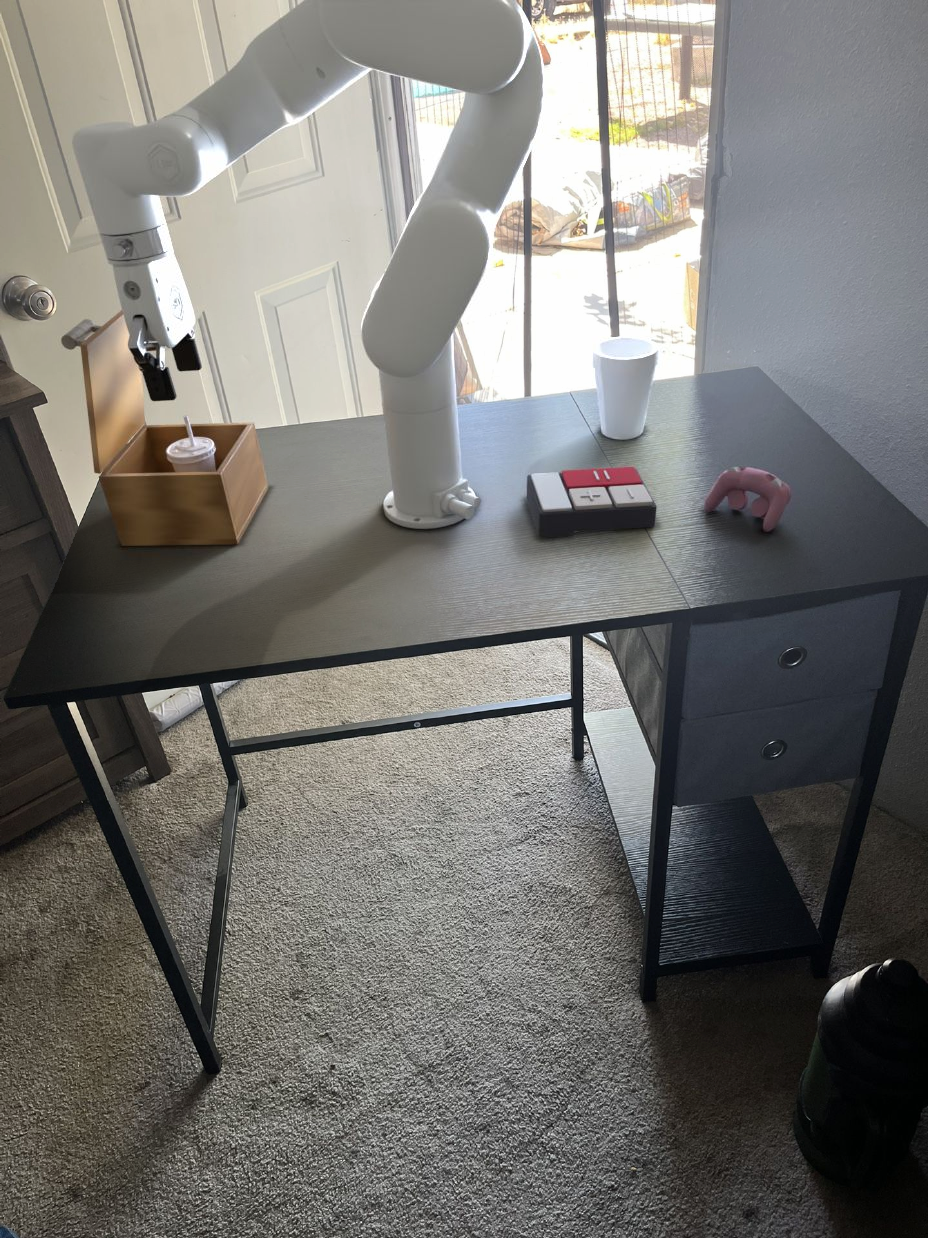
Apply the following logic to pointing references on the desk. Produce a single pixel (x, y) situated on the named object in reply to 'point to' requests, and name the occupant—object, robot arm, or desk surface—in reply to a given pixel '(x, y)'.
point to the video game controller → (755, 481)
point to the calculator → (589, 501)
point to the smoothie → (192, 453)
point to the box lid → (109, 386)
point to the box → (185, 487)
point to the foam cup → (624, 383)
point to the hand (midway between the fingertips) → (177, 384)
